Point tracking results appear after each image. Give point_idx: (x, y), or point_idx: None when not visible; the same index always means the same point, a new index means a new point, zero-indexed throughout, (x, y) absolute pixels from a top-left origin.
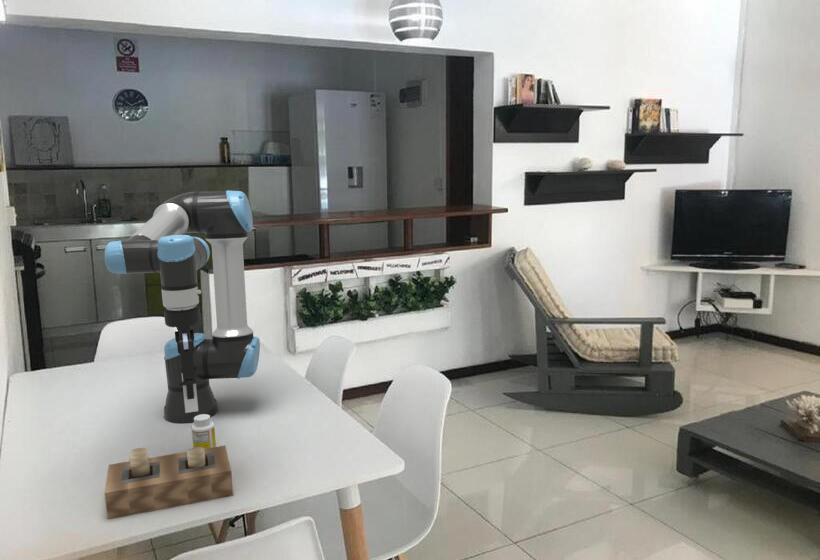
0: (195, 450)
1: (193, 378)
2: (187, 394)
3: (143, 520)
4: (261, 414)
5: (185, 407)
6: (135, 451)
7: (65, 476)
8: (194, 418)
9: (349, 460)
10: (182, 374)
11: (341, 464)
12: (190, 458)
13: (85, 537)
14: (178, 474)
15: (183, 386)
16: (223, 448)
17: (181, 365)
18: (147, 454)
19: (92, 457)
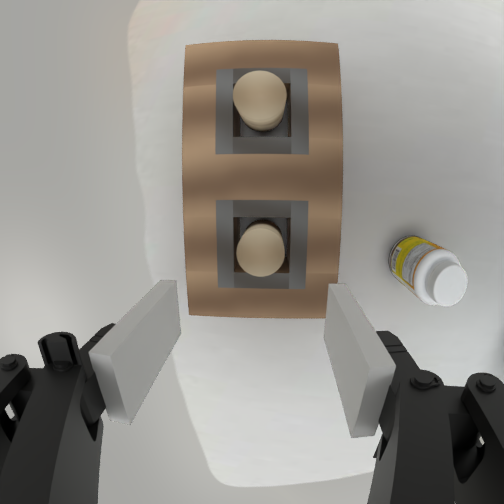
0: (262, 253)
1: (10, 425)
2: (92, 339)
3: (168, 127)
4: (494, 360)
5: (150, 291)
6: (265, 86)
7: (405, 5)
8: (453, 266)
9: (256, 456)
10: (368, 371)
11: (248, 447)
12: (243, 235)
13: (153, 44)
14: (212, 198)
15: (96, 348)
16: (317, 312)
17: (430, 409)
18: (252, 119)
19: (466, 54)
